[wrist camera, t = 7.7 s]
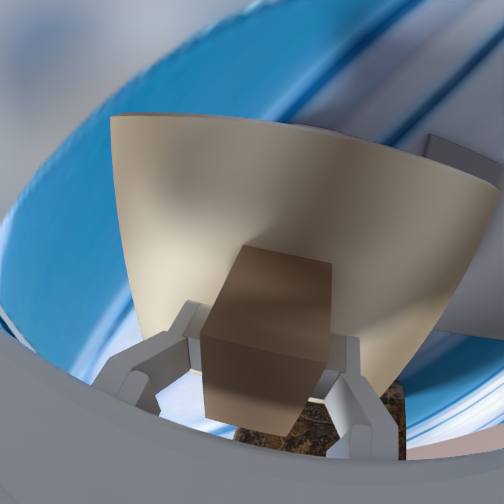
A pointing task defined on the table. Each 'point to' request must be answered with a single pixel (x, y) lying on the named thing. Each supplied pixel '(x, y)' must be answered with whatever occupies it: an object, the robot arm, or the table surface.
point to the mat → (486, 257)
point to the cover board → (288, 250)
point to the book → (324, 428)
